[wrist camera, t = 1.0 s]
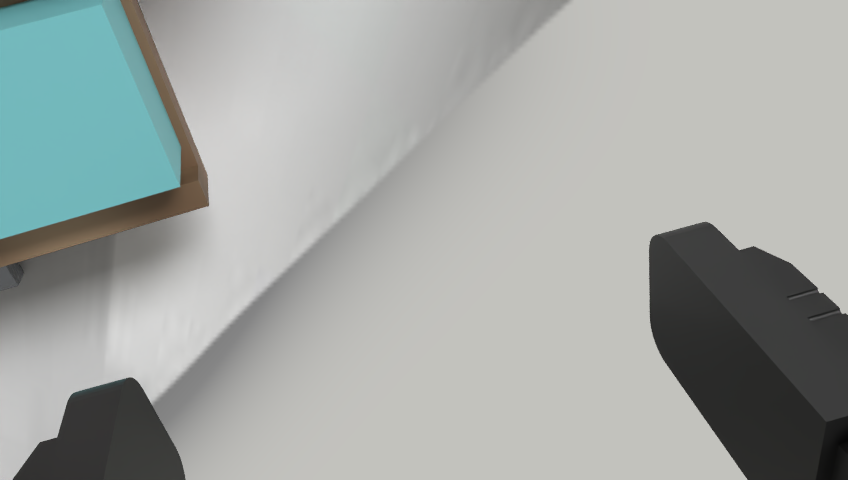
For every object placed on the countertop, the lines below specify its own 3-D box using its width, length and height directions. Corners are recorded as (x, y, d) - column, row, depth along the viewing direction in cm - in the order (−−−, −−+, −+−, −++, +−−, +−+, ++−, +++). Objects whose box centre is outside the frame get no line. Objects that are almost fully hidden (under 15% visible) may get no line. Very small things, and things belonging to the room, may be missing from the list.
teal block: (111, -21, 22) (101, 4, 19) (181, 146, 25) (180, 186, 22) (-136, 42, 21) (-179, 76, 18) (-32, 207, 24) (-57, 255, 22)
